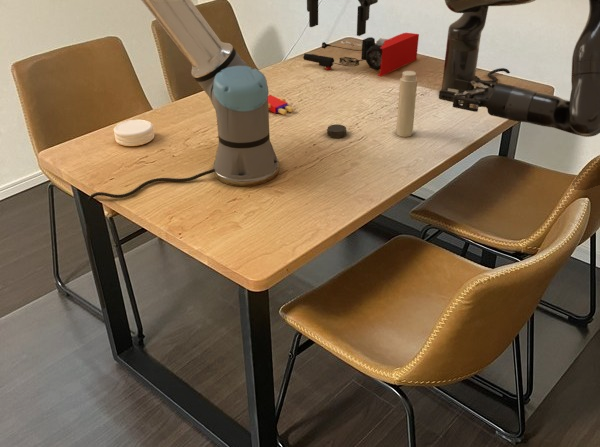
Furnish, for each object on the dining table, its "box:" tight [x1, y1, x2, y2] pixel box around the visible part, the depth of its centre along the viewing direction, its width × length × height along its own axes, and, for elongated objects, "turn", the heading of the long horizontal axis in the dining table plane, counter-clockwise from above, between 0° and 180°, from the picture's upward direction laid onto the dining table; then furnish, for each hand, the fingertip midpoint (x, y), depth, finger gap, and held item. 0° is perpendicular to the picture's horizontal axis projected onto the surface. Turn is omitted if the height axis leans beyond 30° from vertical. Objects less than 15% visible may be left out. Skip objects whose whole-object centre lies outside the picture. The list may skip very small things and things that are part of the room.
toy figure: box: [268, 94, 294, 115], centre depth 178 cm, size 2×7×12 cm
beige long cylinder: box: [395, 70, 418, 138], centre depth 158 cm, size 4×4×16 cm
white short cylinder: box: [113, 118, 155, 147], centre depth 161 cm, size 10×10×4 cm
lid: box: [326, 123, 347, 139], centre depth 162 cm, size 5×5×2 cm
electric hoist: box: [302, 32, 420, 77], centre depth 210 cm, size 10×27×30 cm
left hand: (336, 30), depth 148 cm, fingers open, 13 cm apart
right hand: (447, 88), depth 150 cm, fingers open, 8 cm apart
